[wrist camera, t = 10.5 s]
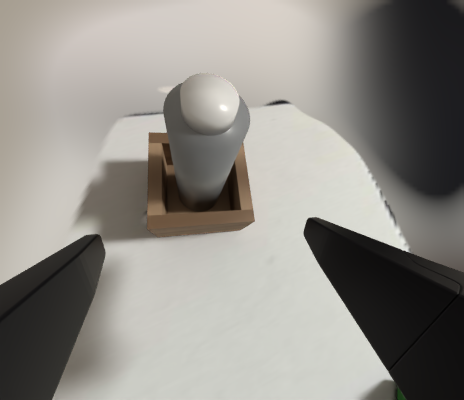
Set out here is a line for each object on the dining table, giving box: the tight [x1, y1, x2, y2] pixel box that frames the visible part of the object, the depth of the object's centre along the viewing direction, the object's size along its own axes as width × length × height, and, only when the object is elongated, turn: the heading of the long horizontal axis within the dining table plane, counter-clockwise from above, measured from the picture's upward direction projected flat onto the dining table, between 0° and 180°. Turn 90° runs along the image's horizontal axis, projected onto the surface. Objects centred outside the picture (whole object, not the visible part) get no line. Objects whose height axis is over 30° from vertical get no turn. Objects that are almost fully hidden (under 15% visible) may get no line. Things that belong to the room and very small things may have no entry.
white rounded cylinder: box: [163, 73, 250, 211], centre depth 14 cm, size 4×4×12 cm
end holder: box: [147, 133, 255, 237], centre depth 19 cm, size 8×8×5 cm
